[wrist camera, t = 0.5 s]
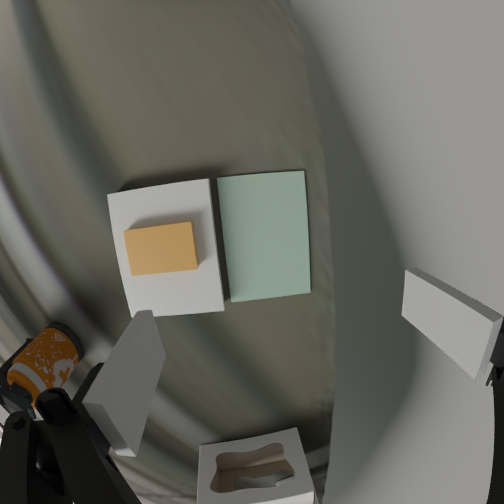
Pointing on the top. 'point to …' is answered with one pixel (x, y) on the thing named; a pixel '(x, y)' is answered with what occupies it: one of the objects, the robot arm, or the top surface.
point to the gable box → (255, 470)
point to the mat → (265, 234)
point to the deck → (180, 282)
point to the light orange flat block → (161, 248)
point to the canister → (38, 367)
